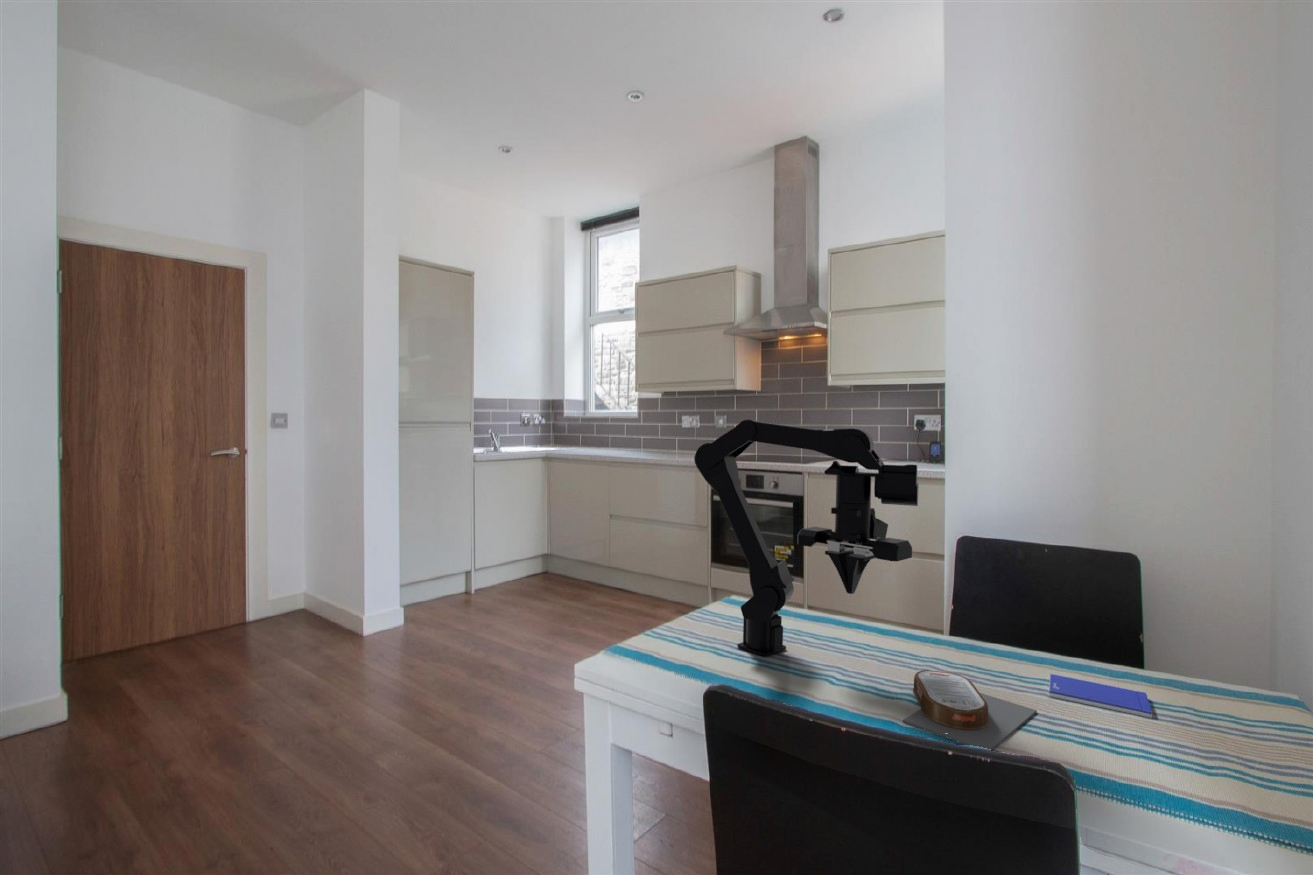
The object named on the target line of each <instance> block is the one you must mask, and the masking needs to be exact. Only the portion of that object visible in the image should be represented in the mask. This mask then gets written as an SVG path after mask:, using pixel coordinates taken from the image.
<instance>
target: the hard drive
mask: <svg viewBox="0 0 1313 875" xmlns="http://www.w3.org/2000/svg"><path fill="white" fill-rule="evenodd" d="M1051 696H1052V698H1056V699H1061V700H1066V701H1071V702H1076V703H1078V704H1079V703H1080V704H1085V705H1088V706H1089V705H1090V706H1094V707H1099V708H1103V709H1107V710H1114V711H1118V712H1121V713H1122V712H1123V713H1128V714H1133V715H1137V716H1142V717H1146V718H1151V719H1152V718H1153V711H1152V707H1151V705H1150V702H1149V699H1148V695H1147V692H1144V691H1138V690H1133V689H1127V688H1123V687H1119V686H1113V685H1108V684H1103V683H1098V682H1093V681H1088V680H1083V679H1077V678H1072V677H1069V676H1063V675H1059V674H1054V673H1050V674H1049V687H1048V697H1051Z"/></svg>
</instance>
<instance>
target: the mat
mask: <svg viewBox="0 0 1313 875" xmlns="http://www.w3.org/2000/svg"><path fill="white" fill-rule="evenodd" d="M979 693H980V694H981V696H982V697H983V698H984V700H985V701H986V702H987V705H988V721H989V723H988V725H987V726H986V727H985V728H983V729H978V730H963V729H957V728H952V727H948V726H945V725H942V724H939V723H937V722H934V721H932V720H931V719H929V718H928V717H926V716H925V715H924V713H923V712H922V709H921V708H919V709H918V710H916V711H914V712H913V713H911V714H910V715H908V716H906V717H905V718H903V719H902V722H903V723H905V724H907V725H910V726H913V727H915V728H918V729H921V730H923V729H925V730H924V731H926V732H928V731H929V732H928V733H931V732H932V734H934V735H937V734H938V735H937V736H940V737H942V738H945V737H946V738H945V739H947V737H948V738H951V739H952V740H951V741H953V742H955V743H958V744H961V745H963V746H966V745H973V746H979V747H983V748H987V749H991V750H992V751H994V750H995V749H996V748H997V747H998V746H999V745H1000V744H1001V743H1003V742H1004V741H1005V740H1006V739H1008V737H1010V736H1011V735H1012V734H1013V733H1014V732H1016V731H1017V730H1018V729H1020V727H1021V726H1023V724H1025V723H1026V722H1027V721H1028V720H1029V719H1031V718H1032V717H1033V716H1034V715H1036V714H1037V712H1038V711H1037V710H1036V709H1034V708H1030V707H1027V706H1025V705H1021V704H1018V703H1014V702H1010V701H1007V700H1005V699H1002V698H997V697H994V696H992V695H989V694H985V693H982V692H979ZM1030 717H1031V718H1030ZM945 733H948V734H945ZM956 741H959V742H956Z"/></svg>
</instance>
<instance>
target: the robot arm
mask: <svg viewBox="0 0 1313 875" xmlns="http://www.w3.org/2000/svg"><path fill="white" fill-rule="evenodd" d="M754 443H763V444H770V445H775V446H776V445H777V446H783V447H790V448H797V449H803V450H811V451H815V452H817V453H820V454H823V455H826V456H827V457H831V458H833V459H836V460H833V462H832V464H831V465H830V466H829V467H828V468H826V469H825V470H824V471H823V472H824V474H825V475H828V476H829V475H830V476H831V475H833V476H835V477H836V479H835V480H836V482H835V506H834V507H831V508H830V512H831V514H833V515H834V516H835V519H834V520H835V521H834V530H832V529H831V528H825V527H821V526H820V527H819V526H812V527H806V528H801V529H800V531H798V534H797V538H796V540H797V545H799V546H804V547H809V548H812V547H813V546H814V545H815V544H817V543H818V544H819V543H820V544H824V545H825V544H826V545H827V550H825V551H824V554H825V555H826V556H828V557H829V559H830V560H831V562H832V564H833V565H834V567H835V569H836V570H837V573H838V575H839V578H840V580H841V582H842V584H843V586H844V589H845V591H846V594H850V595H853V594H855V592H856V591H857V588H858V585H859V582H860V580H861V578H862V575H863V573H864V571H865V569H866V567H867V565H868V564H869V563H870V562H871V560H874V559H877V560H883V561H887V562H900V561H905V560H908V559H911V558H913V547H912V545H911V543H910V542H909V540H906V539H900V538H892V537H887V533H888V527H889V524H888V523H887V522H884V521H883V520H882V519H879V518H878V517H877V518H876V511H875V508H873V507H871V506H872V505H871V504H872V503H871V502H872V501H871V500H872V499H871V498H872V477H873V478H874V488H873V489H874V491H873V494H874V495H873V496H874V498H877V499H879V500H880V503H881V505H894V506H895V505H897V506H911V507H918V504H919V482H918V465H917V464H913V463H912V464H904V465H902V464H885V463H884V462H883V461H882V458H880V457H879V455H878V454H877V453H876V451H875V449H874V440H873V437H872V436H871V434H869V433H868V432H867V431H865V430H864V429H861V428H833V429H832V428H830V429H813V428H805V427H800V426H799V427H797V426H791V425H784V424H778V423H777V424H776V423H769V422H768V423H767V422H762V421H758V420H756V419H743V420H742V421H740V422H739V423H738V424H737V425H736V426H734V427H733V428H731V429H730V430H729V431H727V432H726V433H724V434H722V435H721V436H719V437H718V438H716V439H715V440H713V441H712V442H707V443H703V444H701V445H700V446H699V447H698V448H697V450H696V452H695V454H694V457H693V459H694V464H695V467H696V468H697V469H698V471H699V473H700V474H701V476H702V478H703V480H704V481H705V482H707V483H708V485H709V486H710V487H711V488H712V489H713V490H714V491H715V492H716V494H717V496H718V499H719V501H720V503H721V505H722V507H723V510H724V512H725V514H726V516H727V519H728V521H729V524H730V525H731V528H732V531H733V533H734V535H735V537H736V539H737V541H738V543H739V546H740V549H741V551H742V553H743V555H744V558H745V560H746V562H747V566H748V576H749V584H750V588H751V591H752V597H750V598H749V599H748V600H747V601H746V602H744V603H743V604H742V605H740V610H741V614H742V617H743V627H742V628H743V629H742V631H743V632H742V642H739V643H737V644H736V645H737V648H739V649H742V650H744V651H748V652H751V653H752V654H756V655H759V656H762V657H767V656H770V655H774V654H776V653H778V652H782V651H784V650H786V649H787V645H785V644H784V626H783V625H782V622H783V621H782V620H783V619H782V618H783V616H781V615H779V614H778V612H780V611H781V609H783V607H784V606H785V605H786V604H788V602H789V601H790V600H791V599H792V596H793V594H794V591H795V590H794V584H793V582H795V581H796V580H795V578H794V577H793V575H791V573H790V571H789V568H788V564H787V562H786V560H785V559H784V560H781V561H780V562H778V561H777V559H776V558H774V557H773V555H772V554H771V553H770V550H769V548H768V545H767V544H766V541H765V539H764V537H763V535H762V532H761V529H760V527H759V524H758V522H757V521H756V518H755V517H754V516H755V515H754V513H753V512H752V510H751V507H750V505H749V503H748V501H747V499H746V495H745V494H744V492H743V490H742V487H741V484H740V478H739V468H738V462H737V460H736V459H737V458H738V457H739V456H741V455H742V454H743V453H744V452H746V450H747V449H749V447H750V446H751V445H753V444H754ZM838 460H839V461H843V462H846V463H848V464H849V463H851V464H852V463H853V464H854V463H857V464H858V465H860V466H862V467H863V468H865V469H866V470H868V471H867V472H865V471H859V466H858V465H842V464H841V463H840V462H839V461H838ZM869 470H872V471H878V472H869Z"/></svg>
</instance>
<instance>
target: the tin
mask: <svg viewBox="0 0 1313 875" xmlns="http://www.w3.org/2000/svg"><path fill="white" fill-rule="evenodd" d="M912 692H913V695H914V696H915V699H916V701H917V702H918V704H919V707H920V709H922V712H923V713H924V715H925V716H926V717H928V718H929V719H931V720H932V721H934V722H937V723H939V724H942V725H945V726H948V727H952V728H957V729H963V730H978V729H983V728H985V727H986V726H987V725H988V723H989V721H988V705H987V702H986V701H985V700H984V698H983V697H982V696H981V694H980V693H981V692H980V691H979V690H978V689H977V687H976V686H975V684H974V682H972V681H971V680H970V679H969V678H967V677H965V676H964V675H961V674H957V673H954V672H949V671H938V670H929V669H923V670H920V671H917V672H915V674H914V677H913V689H912Z"/></svg>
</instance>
